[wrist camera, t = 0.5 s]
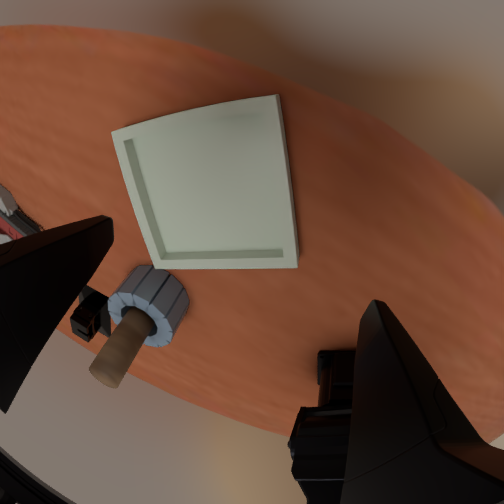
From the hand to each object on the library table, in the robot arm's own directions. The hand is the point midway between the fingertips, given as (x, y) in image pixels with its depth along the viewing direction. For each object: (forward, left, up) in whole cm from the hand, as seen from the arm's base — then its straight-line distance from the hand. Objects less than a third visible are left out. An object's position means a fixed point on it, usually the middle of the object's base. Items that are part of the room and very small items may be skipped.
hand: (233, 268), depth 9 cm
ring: (-13, +15, -14) cm, 24 cm away
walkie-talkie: (0, +39, -14) cm, 42 cm away
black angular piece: (-17, +28, -15) cm, 36 cm away
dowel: (-13, +15, -13) cm, 24 cm away
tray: (-2, +6, -14) cm, 15 cm away
